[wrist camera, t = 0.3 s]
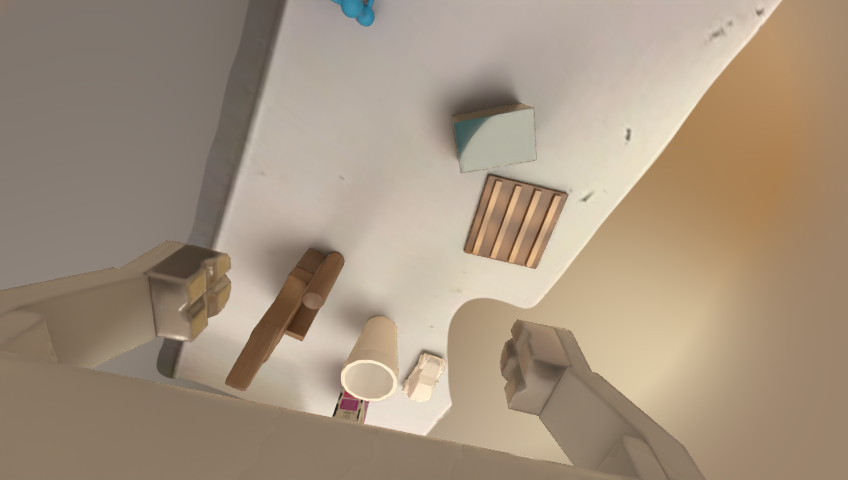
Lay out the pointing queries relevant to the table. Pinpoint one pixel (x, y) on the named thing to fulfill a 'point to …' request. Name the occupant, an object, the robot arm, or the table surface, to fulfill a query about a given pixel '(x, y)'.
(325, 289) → the wooden toy
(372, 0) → the molecular structure
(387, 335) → the foam cup
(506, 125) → the mirrored box
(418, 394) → the car
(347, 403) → the candy bar box
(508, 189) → the drying rack
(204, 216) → the table surface
